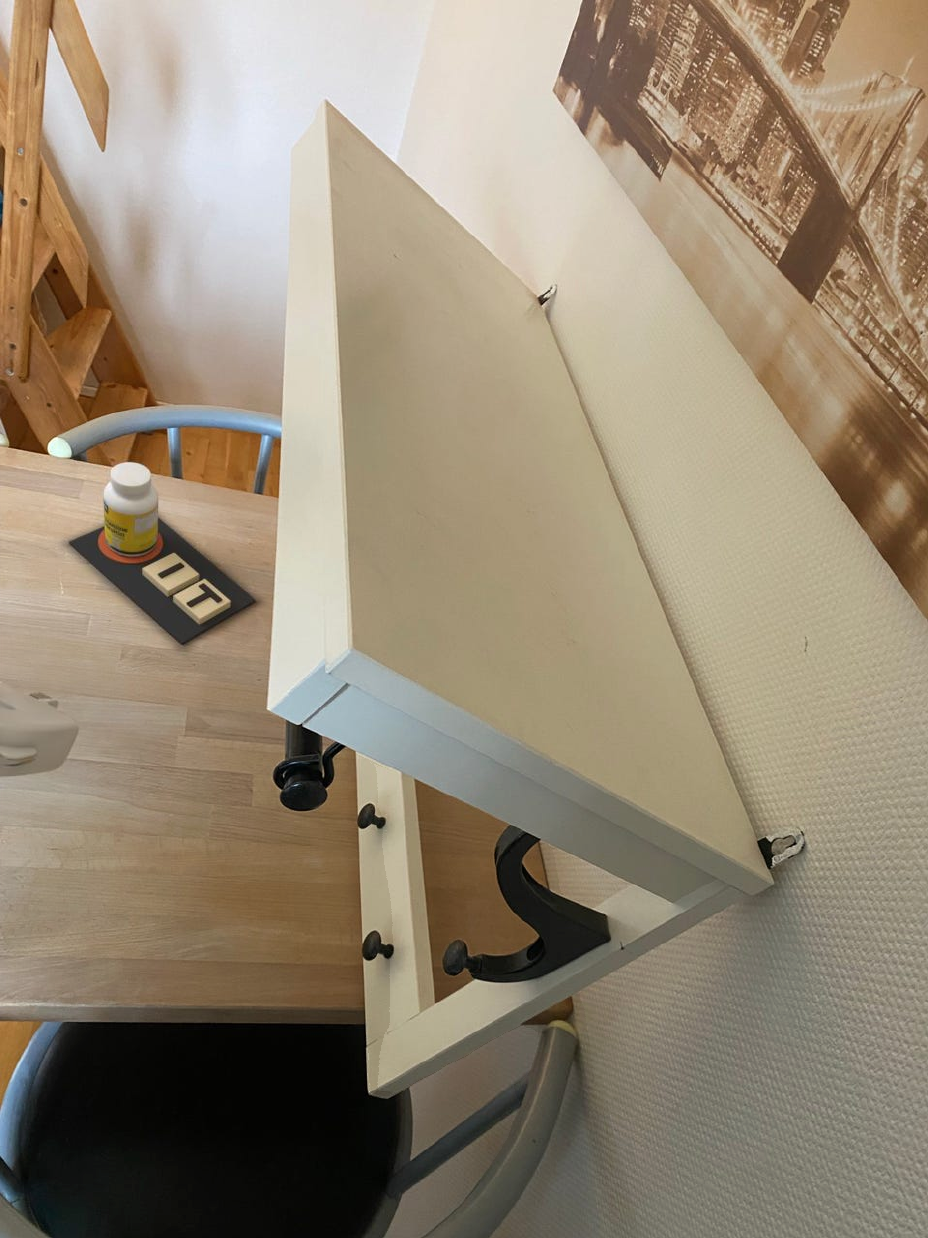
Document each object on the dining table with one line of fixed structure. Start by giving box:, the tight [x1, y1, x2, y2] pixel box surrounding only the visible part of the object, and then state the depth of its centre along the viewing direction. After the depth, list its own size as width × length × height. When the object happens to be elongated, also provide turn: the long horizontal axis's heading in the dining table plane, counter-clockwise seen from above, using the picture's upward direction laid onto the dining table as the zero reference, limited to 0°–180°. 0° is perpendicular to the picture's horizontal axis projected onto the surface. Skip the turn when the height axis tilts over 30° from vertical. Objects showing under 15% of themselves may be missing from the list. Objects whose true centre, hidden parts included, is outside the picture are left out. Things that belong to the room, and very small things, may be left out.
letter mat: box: [68, 517, 257, 646], centre depth 107 cm, size 22×12×2 cm, turn 52°
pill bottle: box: [102, 461, 159, 557], centre depth 105 cm, size 6×6×12 cm
